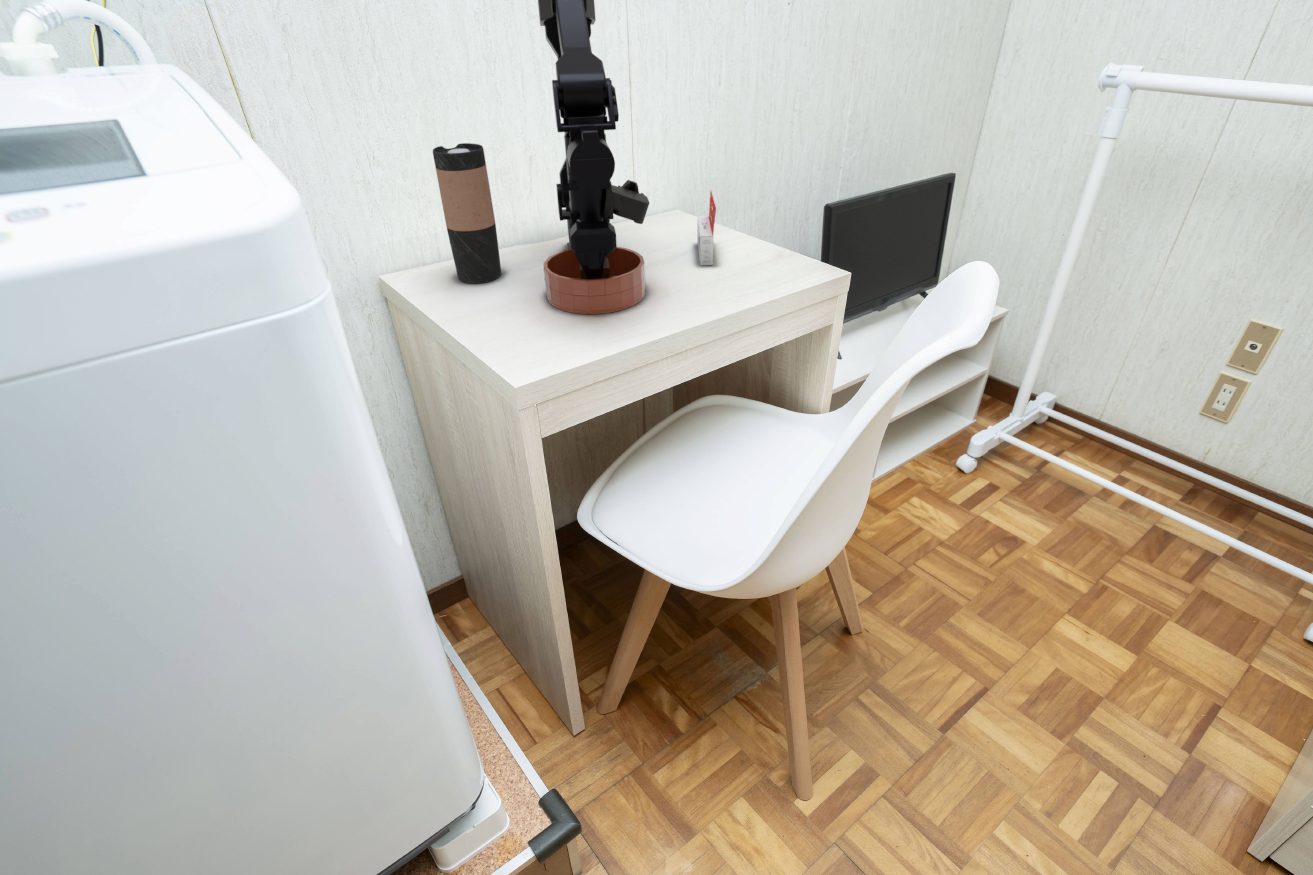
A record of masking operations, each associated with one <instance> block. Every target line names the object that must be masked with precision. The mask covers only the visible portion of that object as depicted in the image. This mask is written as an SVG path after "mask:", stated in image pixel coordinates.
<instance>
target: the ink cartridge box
mask: <svg viewBox="0 0 1313 875" xmlns="http://www.w3.org/2000/svg"><path fill="white" fill-rule="evenodd" d="M708 208H709V210H708V211H709V212H708V216H697V219H696V220H697V221H696V222H697V226H696V227H697V229H696V231H697V233H696V234H697V236H696V237H697V242H696V243H697V244H696V245H697V253H698V260H699V266H713V265H714V232H715V224H716V215H717V206H716V203H715V199H714V196H713V191H712V190H710V193H709V207H708Z"/></svg>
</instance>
